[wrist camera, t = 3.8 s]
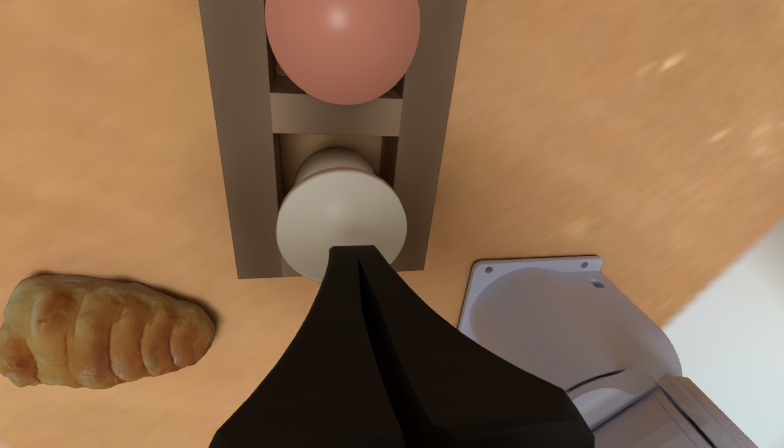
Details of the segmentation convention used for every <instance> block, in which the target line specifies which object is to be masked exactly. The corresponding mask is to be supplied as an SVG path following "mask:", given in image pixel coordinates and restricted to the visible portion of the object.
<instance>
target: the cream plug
mask: <svg viewBox="0 0 784 448" xmlns="http://www.w3.org/2000/svg"><path fill="white" fill-rule="evenodd" d="M406 233H407V221H406V215H405V212H404V209H403V207H402V205H401V202H400V200H399V198H398V196H397V195H396V193H395V191H394V190H393V189H392V188H391V187H390V185H389V184H387V183H386V182H385V181H384V180H383V179H381V178H380V177H378V176H377V175H375V173H374V171H373V169H372V167H371V165H370V164H369V162H368V161H367V160H366V159H365V158H364V157H363V156H361V155H360V154H358V153H356V152H354V151H352V150H349V149H345V148H338V147H335V148H326V149H323V150H320V151H317V152H315V153H313V154H312V155H310V156H309V157H308V158H307V159H305V161H304V162H303V163H302V164H301V165H300V167H299V169H298V171H297V173H296V176H295V181H294V187H293V188H292V189H291V190H290V191H289V193H288V194H287V195H286V197H285V198H284V200H283V202H282V204H281V207H280V210H279V214H278V220H277V228H276V237H277V243H278V246H279V249H280V252H281V254H282V256H283V257H284V259H285V260H286V262H287V263H288V264H289V265H290V266H291V267H292V268H293V269H294V270H295V271H296V272H298V273H299V274H301V275H302V276H304V277H306V278H308V279H310V280H313V281H316V282H319V283H322V281H323V278H324V275H325V272H326V269H327V265H328V260H329V249H330V248H331V247H332V246H354V245H374V246H375V247H376V248H377V249H378V250H379V251H380V253H381V254H382V255H383V257H384V258H385V259H386V260H387V262H388V263H389V264H391V263H392V262H393V261H394V260H395V258H396V257H397V256H398V254H399V253H400V251H401V249H402V247H403V244H404V242H405V238H406Z"/></svg>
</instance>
